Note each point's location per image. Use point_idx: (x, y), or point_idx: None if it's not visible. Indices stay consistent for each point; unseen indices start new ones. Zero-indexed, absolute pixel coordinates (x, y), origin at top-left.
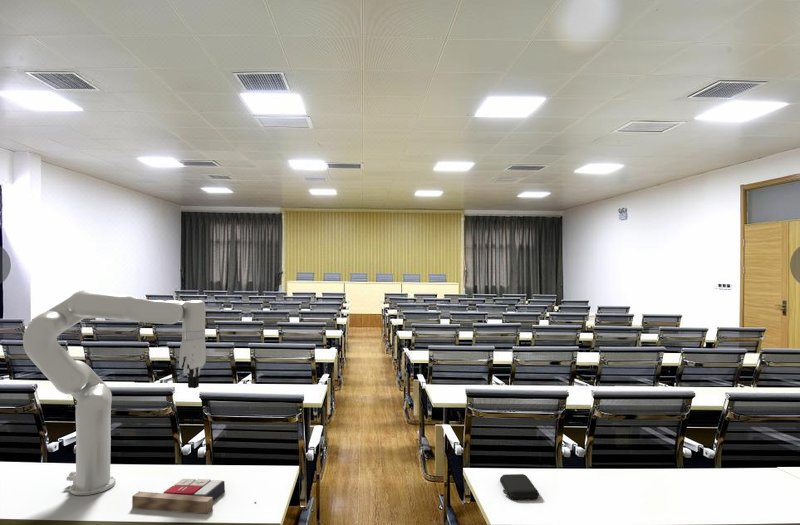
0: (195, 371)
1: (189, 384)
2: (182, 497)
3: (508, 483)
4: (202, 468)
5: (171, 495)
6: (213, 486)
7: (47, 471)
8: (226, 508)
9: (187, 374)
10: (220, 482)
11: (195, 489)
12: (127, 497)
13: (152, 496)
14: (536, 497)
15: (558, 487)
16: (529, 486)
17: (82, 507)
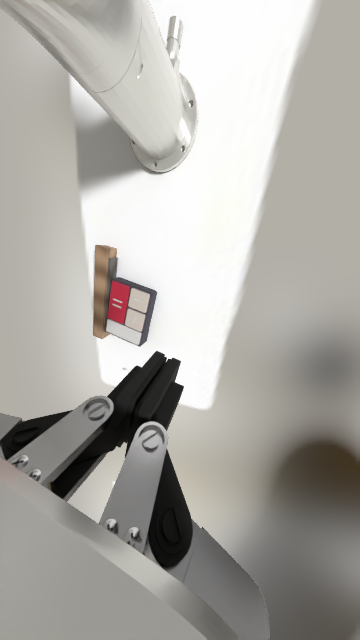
0: (75, 484)
1: (133, 369)
2: (98, 309)
3: None
4: (220, 303)
5: (101, 295)
6: (122, 337)
7: None
8: (112, 345)
9: (60, 413)
10: (133, 343)
11: (115, 319)
12: (130, 223)
13: (96, 273)
14: None
15: None
16: None
17: (102, 167)
